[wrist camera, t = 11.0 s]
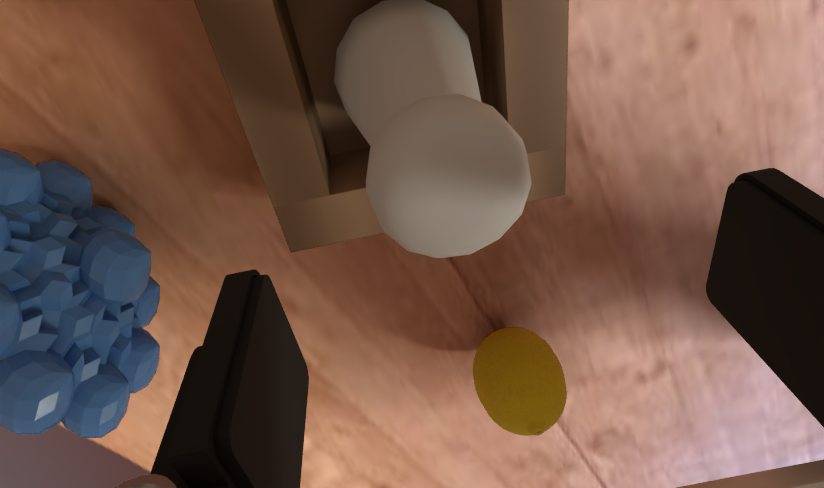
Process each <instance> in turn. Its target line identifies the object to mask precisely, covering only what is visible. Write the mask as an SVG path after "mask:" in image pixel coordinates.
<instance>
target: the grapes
mask: <svg viewBox="0 0 824 488" xmlns="http://www.w3.org/2000/svg"><path fill="white" fill-rule="evenodd" d="M92 201H93V190H92V183H91V180H90V179H89V178H88V177H87V176H86V175H85V174H84V173H82V172H81V171H79V170H78V169H76V168H75V167H73V166H72V165H70V164H68V163H64V162H60V161H56V160H49V161H44V162H40V163H37V164H36V166H35V165H34V164H33V163H32V162H30V161H29V160H27V159H26V158H24V157H22V156H21V155H19V154H18V153H16V152H12V151H8V150H4V149H0V425H1V426H3V427H5V428H7V429H9V430H10V431H12V432H14V433H16V434H42V433H43V432H45V431H47V430H49V429H51V428H52V427H54V426H56V425H58V424H59V423H60V421H61V422H62V423H63V424H64V426H65V427H66V428H67V429H69V430H71V431H72V432H74V433H76V434H78V435H79V436H81V437H84V438H101V437H103V436H104V435H106V434H108V433H109V432H111V431H112V430H114V429H116V428H117V426H118V425H119V423H120V421H121V420H122V418H123V417H124V415H125V413H126V411H127V406H128V402H129V398H130V393H136V392H138V391H139V390H141V389H143V388H145V387H146V386H148V384H149V383H150V381H151V380H152V378H153V376H154V375H155V373H156V370H157V366H158V362H159V349H160V346H159V344H158V343H157V341H156V340H155V339H154V338H153V337H152V336H151V334H150V333H149V332H147V331H146V330H144V329H143V327H145V326H147V325H149V323H150V322H151V320H152V319H153V317H154V316H155V314H156V313H157V308H158V304H159V300H160V286H159V285H158V283H157V282H156V281H155V280H154V279H153V278H152V277H151V276H150V272H151V252H150V251H149V250H148V249H147V248H146V247H145V246H144V245H143V244H142V243H141V242H140V241H139V240H137V239H136V238H135V225H134V224H133V223H132V222H131V221H130V220H129V219H128V218H127V217H125V216H124V215H122V214H121V213H119V212H118V211H116V210H114V209H112V208H108V207H104V206H100V205H99V206H95V207H92V208H91V205H92Z"/></svg>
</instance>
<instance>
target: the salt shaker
mask: <svg viewBox="0 0 824 488" xmlns="http://www.w3.org/2000/svg"><path fill="white" fill-rule="evenodd" d="M334 84H335V86H336V88H337V91H338V93H339V96H340V98H341V101H342V103H343V106H344V108H345V111H346V112H347V114H348V115H349V116H350V118H351V119H352V121H353V122H354V124H355V125H356V126H357V128H358V129H359V131H360V132H361V133H362V135H363V136H364V138H365V139H366V141H367V142H368V143H369V145H370V146H371V147H370V153H369V161H368V168H367V176H366V193H367V195H368V198H369V200H370V202H371V205H372V207H373V209H374V212H375V214H376V216H377V219H378V221H379V223H380V225H381V227H382V229H383V231H384V232H385V233H386V234H387V235H388V236H390V237H391V238H392V239H393V240H394V241H396V242H397V243H398V244H399V245H400V246H402V247H403V248H404V249H405V250H406V251H409V252H413V253H417V254H421V255H425V256H430V257H434V258H446V257H454V256H462V255H470V254H472V253H474V252H476V251H478V250H480V249H482V248H483V247H485V246H487V245H489V244H491V243H493V242H495V241H496V240H498V239H500V238H501V237H502V236H503V235H504V234H505V232H506V231H507V230H508V229H509V228H510V227H511V226H512V225H513V224H514V223H515V221H516V220H517V219H518V218H519V217H520V216H521V215H522V213H523V210H524V206H525V203H526V200H527V197H528V194H529V191H530V187H531V184H532V183H531V176H530V170H529V164H528V158H527V152H526V149H525V145H524V142H523V139H522V138H521V137H520V136H519V135H518V134H517V132H516V131H515V130H514V129H513V128H512V127H511V126H510V124H509V123H508V122H507V121H506V120H505V119H504V118H503V116H502V115H501V114H500V113H499V112H498V111H497V110H496V109H495V108H494V107H493V106H490V105H488V104H485V103H483V102H482V101H481V97H480V92H479V87H478V82H477V77H476V73H475V68H474V63H473V58H472V53H471V49H470V44H469V39H468V35H467V34H466V33H465V32H464V30H463V29H462V28H461V27H460V26H459V24H458V23H457V22H456V21H455V20H454V18H453V17H452V16H451V15H450V14H449V12H448V11H447V10H444V9H442V8H440V7H438V6H436V5H433V4H431V3H429V2H427V1H425V0H386V1H381V2H380V3H378V4H376V5H375V6H373V7H372V8H370V9H368V10H367V11H365V12H364V13H362V14H360V15H359V16H357V17H355V18H354V19H353V21H352V23H351V24H350V26H349V28H348V30H347V32H346V33H345V35H344V37H343V39H342V41H341V42H340V44H339V46H338V48H337V52H336V63H335V74H334Z"/></svg>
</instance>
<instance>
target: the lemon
mask: <svg viewBox="0 0 824 488" xmlns="http://www.w3.org/2000/svg"><path fill="white" fill-rule="evenodd" d="M473 376H474V384H475V388H476V391H477V394H478V397H479V399H480V401H481V403H482V404H483V406H484V408H485V410H486V411H487V413H488V414H489V416H490V417H491V418H492V419H493V420H494V422H496V423H497V424H498V425H499V426H500V427H502V428H503V429H505V430H507V431H509V432H512V433H514V434H518V435H540V434H542V433H544V431H546V430H548V429H549V428H551V427H552V426H553V425H554V424H555V423H556V422H557V421H558V419H559V418H560V416H561V414H562V412H563V410H564V407H565V403H566V396H567V393H566V384H565V378H564V374H563V370H562V367H561V364H560V362H559V360H558V358H557V357H556V355H555V353H554V352H553V350H552V349H551V347H550V346H549V345H548V343H547V342H546V341H545V340H543V339H542V338H541V337H539V336H538V335H537V334H536V333H534V332H532V331H529V330H526V329H523V328H517V327H508V328H503V329H499V330H497V331H495V332H493V333H492V334H490V335H489V336H487V337H486V338H485V339H484V340H483V341H482V343H481V344H480V346H479V348H478V349H477V351H476V354H475V358H474V363H473Z"/></svg>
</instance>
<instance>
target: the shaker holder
mask: <svg viewBox="0 0 824 488" xmlns="http://www.w3.org/2000/svg"><path fill="white" fill-rule="evenodd" d="M194 1H195V3H196V6H197V9H198V11H199V14H200V16H201V19H202V22H203V24H204V27H205V30H206V32H207V35H208V37H209V40H210V43H211V45H212V48H213V50H214V53H215V56H216V58H217V61H218V63H219V66H220V69H221V71H222V74H223V77H224V79H225V82H226V84H227V87H228V90H229V92H230V95H231V97H232V100H233V103H234V105H235V108H236V110H237V113H238V116H239V118H240V121H241V123H242V126H243V129H244V131H245V134H246V137H247V139H248V142H249V144H250V147H251V150H252V152H253V155H254V157H255V160H256V163H257V165H258V168H259V170H260V173H261V176H262V178H263V181H264V184H265V186H266V189H267V191H268V194H269V197H270V199H271V202H272V204H273V207H274V210H275V212H276V215H277V217H278V220H279V223H280V225H281V228H282V231H283V233H284V236H285V238H286V241H287V244H288V246H289V249H290V251H291V252H296V251H300V250H305V249H310V248H314V247H319V246H324V245H329V244H333V243H338V242H343V241H348V240H352V239H357V238H362V237H366V236H371V235H376V234H381V233H385V232H384V231H383V229H382V227H381V225H380V223H379V221H378V219H377V216H376V214H375V212H374V209H373V207H372V205H371V202H370V200H369V198H368V195H367V193H366V176H367V168H368V161H369V153H370V147H371V146H370V145H369V143H368V142H367V141H366V139H365V138H364V136H363V135H362V133H361V132H360V131H359V129H358V128H357V126H356V125H355V124H354V122H353V121H352V119H351V118H350V116H349V115H348V114H347V112H346V111H345V108H344V106H343V103H342V101H341V98H340V96H339V93H338V91H337V88H336V86H335V84H334V74H335V63H336V52H337V48H338V46H339V44H340V42H341V41H342V39H343V37H344V35H345V33H346V32H347V30H348V28H349V26H350V24H351V23H352V21H353V19H354V18H355V17H357V16H359V15H360V14H362V13H364V12H365V11H367V10H368V9H370V8H372V7H373V6H375V5H376V4H378V3H380V2H381V1H386V0H194ZM425 1H427V2H429V3H431V4H433V5H436V6H438V7H440V8H442V9H444V10H447V11H448V12H449V14H450V15H451V16H452V17H453V18H454V20H455V21H456V22H457V23H458V24H459V26H460V27H461V28H462V29H463V30H464V32H465V33H466V34H467V35H468V39H469V44H470V49H471V53H472V58H473V63H474V68H475V73H476V77H477V82H478V87H479V92H480V97H481V101H482V102H483V103H485V104H488V105H490V106H493V107H494V108H495V109H496V110H497V111H498V112H499V113H500V114H501V115H502V116H503V118H504V119H505V120H506V121H507V122H508V123H509V124H510V126H511V127H512V128H513V129H514V130H515V131H516V132H517V134H518V135H519V136H520V137H521V138H522V139H523V142H524V145H525V149H526V152H527V158H528V164H529V170H530V176H531V183H532V184H531V187H530V191H529V194H528V197H527V200H526V203H527V202H532V201H537V200H541V199H546V198H551V197H556V196H560V195H565V165H566V113H567V62H568V10H569V0H425Z"/></svg>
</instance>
